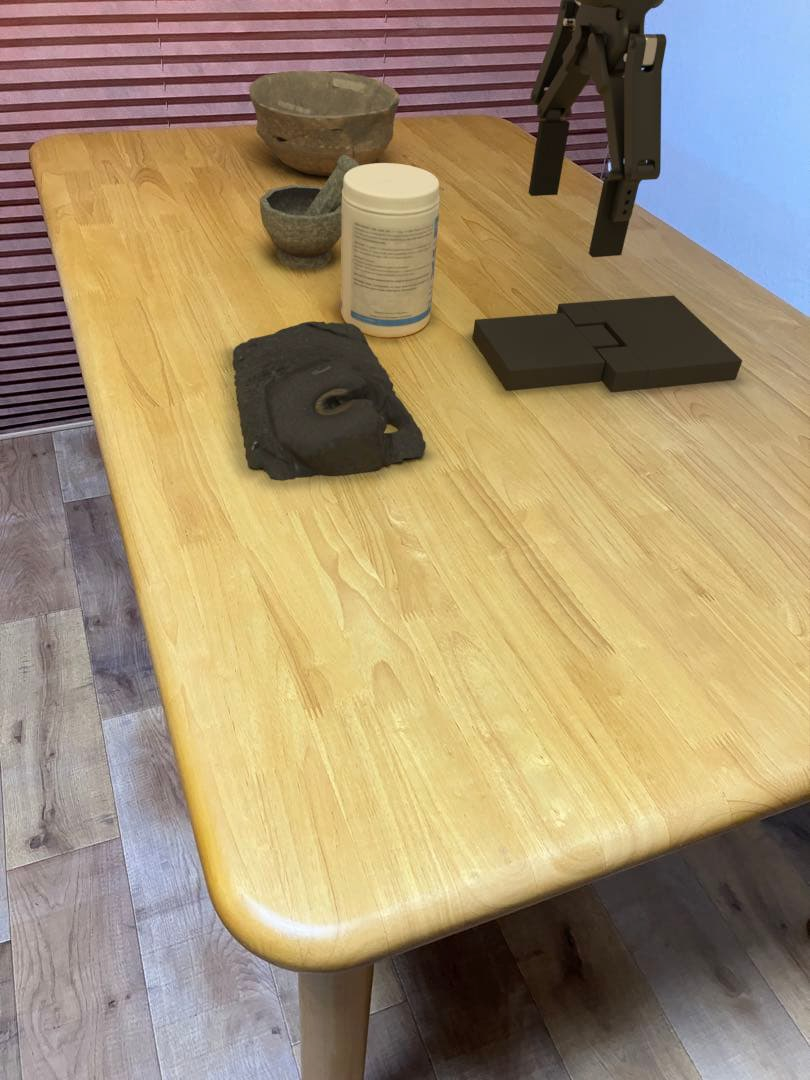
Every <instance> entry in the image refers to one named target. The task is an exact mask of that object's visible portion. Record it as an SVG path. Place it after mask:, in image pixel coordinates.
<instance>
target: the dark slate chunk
mask: <svg viewBox="0 0 810 1080" xmlns="http://www.w3.org/2000/svg"><path fill="white" fill-rule="evenodd" d="M232 356H233V359H232V365H233V371H235V374H234V376H233V377H234V379H235V380H234V382H233V383H234V387H235V394H236V402H237V403H236V406H237V409H238V412H239V414H238V417H239V420H240V424H239V427H240V429H241V430H240V431H241V436H242V437H243V438H242V439H243V448H244V449H245V459H246V462H247V466H248V467H250V468H253V469H255V470H259V471H261V470H264V471H265V472H266V474H267V475H268V476H269V479H270V480H275V481H281V482H283V481H289V480H290V481H291V480H295V479H297V478H298V479H303V478H311V477H314V476H327V477H344V476H350V475H358V474H365V473H366V474H367V473H373V472H377V471H380V470H381V469H382V468H384V467H386V466H391V465H396V464H398V463H403V462H404V459H413V458H416V457H423V456H424V454H425V450H426V446H427V445H426V444H427V443H426V441H425V439H424V435H423V434H424V433H423V432H422V430H421V428H420V427H419V426H418V424H417V423H416V421H415V419H414V417H413V415H412V414H411V413H410V412H409V410H408V409H407V407H406V406H405V405H404V403H403V401H402V400H401V399H400V398H399V397H398V396H397V394H396V391H395V390H394V383H393V382H392V381H391V379H390V376H389V374H388V372H387V371H386V369H385V368H384V367H383V366H382V364H381V363H380V362H379V357H377V356H376V355H375V353H374V352H373V350H372V349H371V347H370V345H369V343H368V339H367V337H366V336H365V334H364V333H362V332H361V330H360V329H359V328H358V327H357V326H355V325H353V324H350V323H346V322H344V323H340V322H333V321H331V322H329V323H326V321H315V320H314V321H313V320H311V321H305V322H301V323H299V324H295V325H292V326H287V327H286V328H281V329H279V330H277V331H276V332H275V333H270V334H266V335H262V336H257V337H253V338H249V339H248V340H247V341H244V342H241V343H239V344H238V345H236V346H234V349H233V351H232ZM388 425H389V426H392V427H393V428H396V429H397V431H393V432H386V430H387V428H388Z"/></svg>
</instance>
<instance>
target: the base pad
mask: <svg viewBox="0 0 810 1080" xmlns="http://www.w3.org/2000/svg"><path fill="white" fill-rule="evenodd" d="M556 313H565V315H566V316H567V317H568V318H569V319H570V321H571V322H572V323H573V324H574V325H575V326H576V327H581V326H593V325H603V326H604V327H605V329H606V330H607V331H608V332H609V333H610V334H611V335H612V336H613V338H614V339H615V340H616V341H617V342H618V343H619V346H618V347H614V348H603V349H596V352H597V353H598V354H599V355H600V356H601V357H602V359H603V360H604V361H605V365H604V369H603V373H602V377H601V381H600V382H602V384H603V385H604V386H605V387H606V389H607V390H608V391H609V392H610V393H621V392H630V391H631V392H632V391H641V390H642V391H643V390H651V389H652V390H653V389H660V388H672V387H678V386H680V387H681V386H689V385H698V384H699V385H700V384H708V383H718V382H728V381H736V379H737V376H738V374H739V371H740V368H741V365H742V363H743V360H742V358H740V356H738V354H737V353H735V352H734V351H733V350H732V349H731V347H729V346H728V345H727V344H726V343H725V342H724V341H723V340H722V339H720V337H719V336H717V335H716V334H715V332H713V331H712V330H711V329H710V328H709V327H708V326H707V325H706V324H705V323H704V322H703V321H701V319H700V318H698V316H696V314H694V313H693V312H692V311H691V310H690V309H689V308H688V307H687V306H686V305H685V304H684V303H682V301H680V299H679V298H677V296H675V295H673V294H672V295H662V296H661V295H660V296H647V297H633V298H620V299H607V300H594V301H580V302H567V303H566V302H565V303H558V304H557V309H556Z"/></svg>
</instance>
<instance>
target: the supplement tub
mask: <svg viewBox="0 0 810 1080" xmlns="http://www.w3.org/2000/svg"><path fill="white" fill-rule="evenodd" d="M440 199H441V197H440V180H439V178H437V177H436V175H434V174H433V173H431V172H429V171H428V170H426V169H424V168H420V167H416V166H414V165H409V164H405V163H404V164H403V163H392V162H377V163H376V162H375V163H374V162H373V163H371V164H366V165H361V166H357V167H355V168H352V169H351V170H349V171H348V172H347V173H346V174H345V175H344V180H343V189H342V214H341V237H340V239H341V241H340V243H341V245H340V250H341V251H340V313H341V316H342V319H343V321H344V323H350V324H353V325H355V326H357V327H358V328H359V329H360V330H361V332H362V333H363V334H364V335H368V336H372V337H376V338H377V337H378V338H385V339H386V338H390V339H391V338H402V337H406V336H410V335H413V334H416V333H417V332H419V331H421V330H422V329H423V328H424V327H426V326H427V324H428V323H429V321H430V318H431V311H432V302H433V301H432V300H433V288H434V276H435V266H436V253H437V242H438V241H437V240H438V231H439V217H440V204H441V203H440V201H441V200H440Z"/></svg>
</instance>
